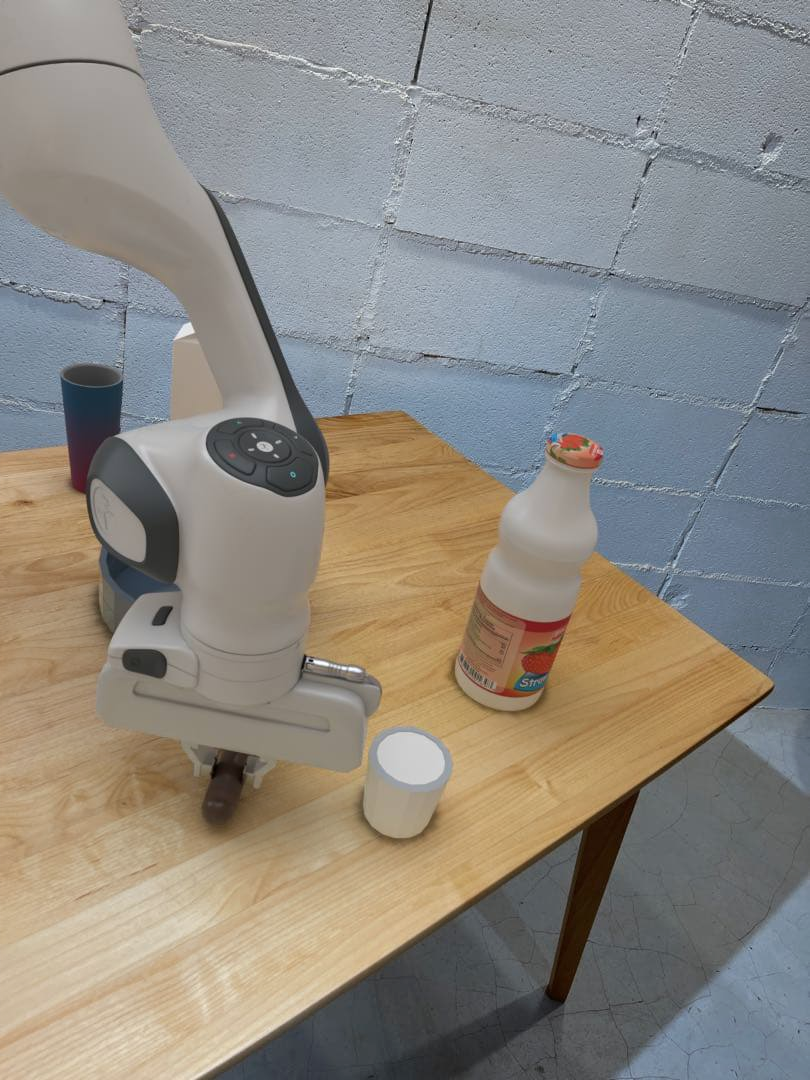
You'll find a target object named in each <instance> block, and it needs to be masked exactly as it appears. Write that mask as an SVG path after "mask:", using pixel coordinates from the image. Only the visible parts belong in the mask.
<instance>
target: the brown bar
mask: <svg viewBox="0 0 810 1080" xmlns="http://www.w3.org/2000/svg"><path fill="white" fill-rule="evenodd" d="M248 756H254V755H251V754H245V753H240V752H235V751H230V750H225V749H221V751H220V754H219V756H218V758H217V759H218V762H217V766H216V769H215V771H214V775H213V777H212V779H210V782H209V784H208V788H207V789H206V793H205V796H204V798H203V801H202V804H201V808H200V810H201V811H200V814H201V817H202V820H203V821H204V822H205V823H206V824H207V825H209V826H210V827H213V828H222V827H224V826H227V825H228V824H230V823H231V821H232V820H233V818H234V817H235V815H236V811H237V808H238V805H239V803H240V799H241V796H242V792H243V789H244V787H245V786H244V785H242V780H243V778H242V776H243V771H244V768H245V766H246V761H247V758H248Z"/></svg>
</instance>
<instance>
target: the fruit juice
mask: <svg viewBox="0 0 810 1080" xmlns="http://www.w3.org/2000/svg"><path fill="white" fill-rule="evenodd" d="M544 457H545V462H544V464H543V466H542V468H541V470H540V472H539V473H538V475H536V478H535V479H534V480H533V482H531V484H530V485H529V486H527V487H526V488H524V489H523V490H522V491H519V492H517V494H515V495H513V497H511V498H510V499H508V501H507V503H506V504H505V505H504V507H503V509H502V511H501V514H500V517H499V519H498V525H497V543H496V544H495V546H493V548H492V549H491V550H490V552H489V553H488V556H487V558H486V560H485V563H484V566H483V568H482V571H481V574H480V578H479V582H478V585H477V588H476V592H475V596H474V598H473V602H472V605H471V608H470V612H469V615H468V619H467V623H466V625H465V630H464V633H463V635H462V639H461V642H460V645H459V650H458V653H457V656H456V660H455V664H454V677H455V679H456V682H457V684H458V685H459V687H460V688H461V690H462V691H463V692H464V693H465V694H466V695H467V696H468V697H470V699H472V700H474V701H475V702H477V703H479V704H480V705H483V706H484V707H487V708H490V709H493V710H497V711H502V712H503V711H504V712H517V711H522V710H526V709H529V708H530V707H532V706H534V705H535V704H536V702H537V701H538V700H539V699H540V698H541V695H542V693H543V692H544V690H545V687H546V683H547V682H548V678H549V676H550V673H551V670H552V668H553V665H554V663H555V660H556V658H557V655H558V652H559V650H560V647H561V644H562V641H563V639H564V637H565V633H566V631H567V629H568V625H569V623H570V620H571V618H572V615H573V613H574V610H575V608H576V605H577V603H578V599H579V596H580V593H581V588H582V582H583V577H582V575H583V574H582V570H583V568H584V567H585V566H586V564H588V562H589V561H590V560H591V558H592V556H593V555H594V553H595V550H596V547H597V544H598V540H599V526H598V523H597V519H596V517H595V515H594V512H593V510H592V507H591V484H592V479H593V475H594V474H595V473H596V472H598V470H599V469H600V467H601V465H602V462H603V458H604V450H603V447H602V446H601V445H600V444H599V443H597V442H596V441H594V440H593V439H591V438H589V437H587V436H583V435H580V434H577V433H574V432H564V431H563V432H556V433H553V434H552V435H551V436H550V437H549V438H548V441H547V443H546V445H545V450H544Z"/></svg>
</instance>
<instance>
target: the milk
mask: <svg viewBox="0 0 810 1080" xmlns="http://www.w3.org/2000/svg"><path fill="white" fill-rule="evenodd" d="M171 356H172V360H171V380H170V381H171V383H170V411H169V421H170V420H179V419H184V418H188V417H192V416H196V415H200V414H205V413H209V412H213V411H217V410H222V406H223V400H222V396H221V393H220V390H219V388H218V386H217V383H216V381H215V378H214V376H213V374H212V371H211V369H210V367H209V364H208V362H207V360H206V357H205V355H204V353H203V350H202V348H201V345H200V343H199V341H198V338H197V336H196V334H195V331H194V329H193V327H192V324H191V322H190V321H189V322H186V323H184V324H183V325H182V327H181V328H180V330H179V331H178V332H177V334H176V335H175V337H174V338H173V340H172V355H171Z"/></svg>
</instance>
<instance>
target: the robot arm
mask: <svg viewBox="0 0 810 1080" xmlns="http://www.w3.org/2000/svg"><path fill="white" fill-rule="evenodd" d="M124 15H125V14H124V12H123V10H122V7H121V4H120V1H119V0H0V195H1V196H2V197H3V199H4V200H5V201H6V203H7V204H8V205H9V206H11V208H12V209H13V210H14V211H16V213H18V214H19V215H20V216H21V217H22V218H24V219H25V220H26V221H28V222H29V223H30V224H31V225H32V226H34V227H36V229H38V230H40V231H41V232H43V233H45V234H47V235H48V236H50V237H52V238H54V239H56V240H58V241H61V242H62V243H64V244H67V245H69V246H72V247H74V248H76V249H79V250H82V251H86V252H88V253H93V254H95V255H99V256H102V257H106V258H108V259H111V260H114V261H117V262H120V263H122V264H125V265H127V266H130V267H132V268H134V269H136V270H138V271H141V272H143V273H144V274H146V275H148V276H150V277H151V278H154V280H156V281H158V282H160V283H161V284H163V286H164V287H165V288H167V289H168V290H169V291H170V292H171V293H172V294H173V295H174V297H176V299H177V300H178V301H179V303H180V304H181V306H182V307H183V309H184V311H185V312H186V315H187V317H188V319H189V322H191V324H192V327H193V329H194V331H195V334H196V336H197V338H198V341H199V343H200V345H201V348H202V350H203V353H204V355H205V357H206V360H207V362H208V364H209V367H210V369H211V371H212V374H213V376H214V378H215V381H216V383H217V386H218V388H219V390H220V393H221V396H222V400H223V406H222V410H217V411H213V412H209V413H205V414H200V415H196V416H192V417H188V418H184V419H179V420H170V419H169V420H165V421H162V422H157V423H153V424H149V425H145V426H142V427H137V428H133V429H129V430H125V431H123V432H119V434H118V435H115V436H113V437H108V438H107V439H105V440H104V442H103V443H102V444H101V445H100V447H99V448H98V450H97V451H96V453H95V455H94V457H93V459H92V462H91V465H90V468H89V472H88V477H87V483H86V494H85V502H86V510H87V515H88V520H89V524H90V526H91V529H92V532H93V534H94V536H95V538H96V540H97V541H98V542H99V544H100V545H101V547H102V546H103V547H104V548H105V549H106V550H107V551H108V552H109V553H110V554H111V555H113V556H114V557H115V558H117V559H118V560H120V561H122V562H124V563H126V564H128V565H129V566H131V567H133V568H135V569H137V570H138V571H140V572H142V573H144V574H146V575H147V576H149V577H151V578H153V579H155V580H157V581H160V582H162V583H165V584H168V585H171V584H173V583H174V584H176V585H177V586H178V587H179V588H180V589H181V591H177V592H161V593H148V594H144V595H141V596H140V597H139V598H138V599H137V600H136V602H135V603H134V604H133V605H132V606H131V608H130V609H129V610H128V612H127V613H126V614H125V616H124V617H123V619H122V621H121V622H120V624H119V626H118V627H117V629H116V631H115V633H114V634H113V635H112V637H111V640H110V642H109V645H108V648H107V651H106V655H107V660H106V661H105V664H104V665H103V667H102V668H101V671H100V672H99V675H98V678H97V684H96V689H95V698H94V712H95V716H96V717H97V718H98V719H99V720H100V722H102V723H103V724H104V725H105V726H107V727H108V728H113V729H119V730H124V731H129V732H135V733H139V734H144V735H150V736H155V737H160V738H165V739H171V740H176V741H180V748H181V749H182V750H183V751H184V753H185V754H186V755H187V757H188V759H189V760H190V761H191V762H192V763H193V774H192V775H193V777H197V778H204V779H208V780H209V779H210V780H211V779H212V777H213V775H214V771H215V769H216V766H217V762H218V759H219V752H220V749H221V750H222V749H225V750H230V751H235V752H240V753H245V754H251V755H253V756H248V758H247V761H246V766H245V768H244V771H243V776H242V778H243V780H242V785H244V787H249V788H255V789H258V790H259V789H260V788H261V786H262V782H263V780H264V776H265V775H266V774H268V773H269V772H270V771H272V769H273V770H274V768H275V767H277V766H278V762H279V761H281V762H287V763H291V764H296V765H301V766H307V767H312V768H318V769H323V770H327V771H332V772H337V773H342V774H349V773H352V772H354V771H355V770H357V769H358V768H360V767H361V766H362V763H363V760H364V759H363V758H364V753H365V747H366V741H367V734H368V727H369V721H370V719H369V718H370V717H372V716H373V715H374V714H376V712H377V711H378V709H379V708H380V704H381V700H382V696H383V688H382V683H381V682H380V681H379V680H378V679H377V677H375V676H373V675H372V674H371V673H368V672H366V671H367V669H366V668H364V667H362V666H359V665H356V664H345V663H340V662H336V661H333V660H330V659H326V658H323V657H322V658H321V657H315V656H312V655H306V649H307V642H308V638H309V630H310V624H311V619H312V618H311V617H312V615H311V614H312V609H311V603H310V597H309V595H310V590H311V589H312V587H313V585H314V584H315V581H316V579H317V577H318V573H319V569H320V565H321V564H320V563H321V557H322V552H323V544H324V536H325V525H326V511H327V510H326V507H327V503H326V501H327V500H326V488H327V485H328V481H329V476H330V466H331V465H330V463H331V462H330V454H329V448H328V444H327V441H326V439H325V437H324V434H323V432H322V430H321V428H320V426H319V425H318V422H317V421H316V419H315V417H314V415H313V414H312V413H311V411H310V409H309V407H308V405H307V404H306V402H305V400H304V399H303V397H302V395H301V394H300V392H299V389H298V388H297V385H296V383H295V381H294V379H293V376H292V374H291V372H290V369H289V367H288V363H287V362H286V359H285V356H284V353H283V351H282V349H281V346H280V343H279V341H278V338H277V335H276V334H275V331H274V328H273V325H272V323H271V320H270V318H269V316H268V312H267V310H266V308H265V304H264V303H263V300H262V298H261V294H260V292H259V289H258V287H257V285H256V282H255V279H254V276H253V275H252V271H251V269H250V267H249V264H248V261H247V259H246V257H245V255H244V253H243V250H242V248H241V245H240V243H239V240H238V238H237V236H236V234H235V231H234V228H233V227H232V224H231V222H230V220H229V219H228V218H229V217H228V216H227V215H226V212H225V211H224V209H223V207H222V206H221V204H220V203H219V200H217V198H216V197H215V195H214V194H213V193H212V192H211V191H210V190H209V188H207V187H205V186H204V185H203V184H202V183H201V182H199V181H198V180H196V178H195V177H194V176H193V175H192V173H191V172H190V170H189V169H188V168H187V166H186V165H185V163H184V162H183V161H182V160H181V158H180V156H179V155H178V153H177V152H176V150H175V149H174V147H173V145H172V143H171V141H170V140H169V138H168V136H167V134H166V131H164V128H163V127H162V124H161V122H160V120H159V117H158V115H157V113H156V111H155V108H154V106H153V103H152V99H151V97H150V93H149V90H148V87H147V84H146V80H145V76H144V73H143V69H142V66H141V62H140V58H139V56H138V53H137V49H136V46H135V44H134V39H133V38H132V37H133V36H132V34H131V31H130V28H129V26H128V22H127V20H126V18H125V16H124Z"/></svg>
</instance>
